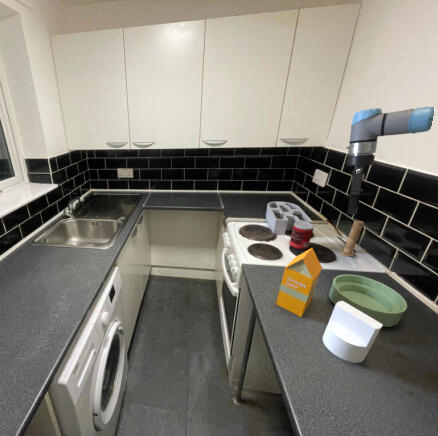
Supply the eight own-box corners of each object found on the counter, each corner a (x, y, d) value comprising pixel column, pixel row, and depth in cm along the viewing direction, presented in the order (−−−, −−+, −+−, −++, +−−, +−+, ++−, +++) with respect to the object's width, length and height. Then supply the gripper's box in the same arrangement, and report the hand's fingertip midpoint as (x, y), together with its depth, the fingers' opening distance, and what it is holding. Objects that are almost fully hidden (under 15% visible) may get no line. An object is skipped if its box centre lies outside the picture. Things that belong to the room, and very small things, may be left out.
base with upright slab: (315, 339, 64) (327, 307, 59) (335, 327, 67) (348, 296, 63) (352, 368, 57) (369, 335, 52) (372, 354, 60) (391, 320, 55)
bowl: (382, 294, 79) (389, 280, 76) (411, 336, 64) (421, 320, 62) (322, 283, 85) (326, 270, 82) (337, 318, 70) (343, 304, 68)
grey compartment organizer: (272, 234, 120) (275, 219, 116) (262, 213, 144) (265, 200, 140) (308, 237, 115) (313, 222, 112) (292, 215, 140) (295, 202, 136)
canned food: (308, 243, 110) (313, 223, 106) (308, 251, 104) (314, 230, 99) (289, 239, 114) (294, 219, 109) (288, 247, 108) (293, 226, 103)
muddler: (350, 252, 102) (363, 220, 95) (354, 257, 98) (367, 224, 92) (339, 251, 103) (351, 219, 97) (342, 256, 100) (354, 223, 93)
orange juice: (310, 302, 76) (327, 252, 68) (301, 317, 71) (318, 264, 63) (285, 291, 82) (298, 242, 74) (275, 303, 77) (287, 253, 68)
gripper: (349, 155, 97) (343, 204, 101) (345, 156, 79) (337, 215, 84) (374, 153, 91) (366, 205, 96) (375, 154, 74) (366, 218, 79)
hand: (353, 210), depth 90 cm, fingers open, 13 cm apart
